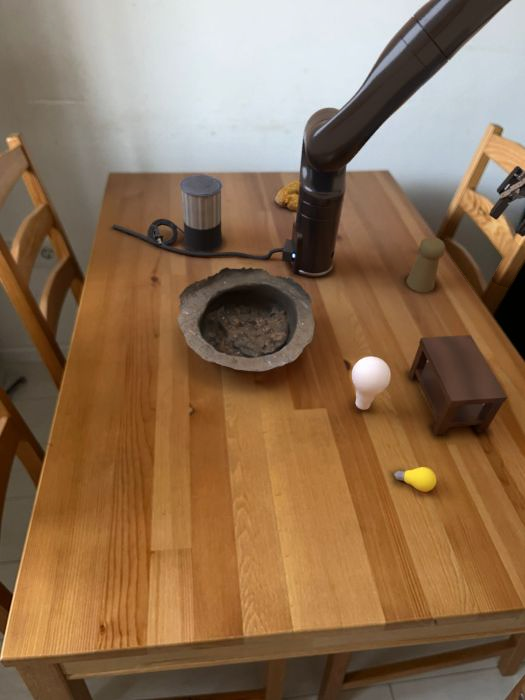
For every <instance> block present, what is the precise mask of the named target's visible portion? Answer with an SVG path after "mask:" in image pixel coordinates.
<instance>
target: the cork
mask: <svg viewBox="0 0 525 700" xmlns="http://www.w3.org/2000/svg"><path fill="white" fill-rule="evenodd" d="M445 251H446V245H445V242H444V241H443V240H441V239H440V238H438V237H434V236H427V237H425V238H423V239H422V240H421V241H420V243H419V247H418V252H419V254H418V256H417V258H416V260H415V262H414V264H413V266H412V268H411V270H410V272H409V274H408V277H407V278H406V285H407V286H408V288H410V289H411V290H414V291H416V292H420V293H429V292H431V291H433V290H434V289H435V285H436V277H437V273H438V268H439V262H440V259H441V258H442V257H443V256H444V254H445Z"/></svg>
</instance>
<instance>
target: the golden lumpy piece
mask: <svg viewBox="0 0 525 700" xmlns="http://www.w3.org/2000/svg"><path fill="white" fill-rule="evenodd" d="M298 196H299V180H295V181H292V182H290V183H288V184H287V185H286V186H285V187H283V188H281V189H280V190H279V191H278V192H277V194H276V196H275V197H274V201H275V203H276V204H277V205H278V206H280V207H283V208H287V209H289V210H290V211H296V212H297V205H298Z"/></svg>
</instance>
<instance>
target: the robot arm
mask: <svg viewBox="0 0 525 700" xmlns="http://www.w3.org/2000/svg"><path fill="white" fill-rule="evenodd" d="M512 1H513V0H428V1H427V2H425V3H424V4H423V5H422V6H421V7H420V8H418V9H417V11H415V13H413V14H412V16H411V17H410V18H409V19H408V20H407V21H406V22H405V23H404V24H403V25H402V27H400V28H399V30H397V32H396V33H395V34H394V35H393V36H392V38H391V39H390V40H389V41H388V43H387V44H386V45H385V47H384V49H383V50H382V51H381V53H380V54H379V55H378V58H377V59H376V61H375V63H374V64H373V66H372V68H371V69H370V71H369V73H368V75H367V76H366V78H365V79H364V81H363V82H362V84H361V86H359V88H358V89H357V91H356V92H355V93H354V94H353V96H352V97H350V99H349V100H348V101H347V102H346V103H345V104H344V105H343V106H342V107H341V108H336V107H331V106H330V107H323V108H320V109H318V110H317V111H315V112H314V113H312V115H310V117H309V118H308V120H307V121H306V123H305V126H304V129H303V134H302V143H301V154H300V155H301V156H300V165H299V180H298V181H299V196H298V205H297V211H296V215H295V221H294V222H292V232H291V239H290V238H286V239H285V242H284V246H283V247H277V248H273V249H271V250H269V251H268V253H267V254H265V255H252V254H249V253H245V252H240V251H239V252H238V251H220V252H209V253H201V252H193V251H191V250H186V249H182V248H177V247H174V246H171V245H169V246H167V245H164V244H161V245H159V246H158V247H159V248H161V249H164V250H167V251H170V252H173V253H177V254H180V255H181V254H182V255H185V256H192V257H193V256H194V257H202V258H203V257H204V258H214V257H215V258H216V257H240V258H245V259H250V260H260V261H264V260H269V259H271V257H272V256H273V255H274V254H276V253H282V254H281V255H282V256H281V261H282V262H289V263H290V267H291V269H292V273H293V274H294V275H301V276H303V277H307V278H322V277H324V276H327V275H329V274H330V273H331V272H332V270H333V266H334V258H335V254H336V249H337V247H336V245H337V240H338V236H339V235H338V234H339V229H340V223H341V219H342V218H341V217H342V213H343V206H344V199H345V193H346V186H347V185H346V184H347V179H346V178H347V166H348V164H350V162H351V161H353V159H354V158H355V157H356V156H357V155H358V154H359V152H360V151H361V150H362V149H363V147H364V146H365V145H366V144H367V143H368V141H370V139H371V138H372V137H373V136H374V135H375V133H376V132H377V131H378V130H379V129H380V128H381V127H382V126H383V125H384V124H385V122H387V120H389V119H390V118H391V117H392V116H393V115H394V114H395V113H396V112H397V111H398V110H400V108H401V107H403V105H405V104H406V103H407V102H408V101H409V100H410V99H411V98H412V97H413V96H414V95H416V93H417V92H418V91H419V90H420V89H421V88H422V87H424V86H425V85H426V84H427V83H428V82H429V81H430V80H431V79H433V77H434V76H435V75H437V73H438V72H440V71H441V70H442V69H443V67H445V66H446V65H447V64H448V63H449V61H451V60H452V59H453V58H454V57H455V56H456V55H457V54H458V53H459V51H461V50H462V49H463V48H464V47H465V46H466V45H467V44H468V43H469V42H470V41H471V40H472V39H473V38H474V37H475V36H476V35H477V34H478V33H479V32H480V31H481V30H482V29H484V28H485V27H486V26H487V25H488V23H490V22H491V20H493V19H494V17H496V16H497V15H498V14H499V13H500V12H501V10H503V9H504V8H505V7H506V6H507V5H508V4H510V3H511V2H512ZM496 193H498V195H499V199H498V200H497V201H496V203H495V204H494V205H493V206H492V208H491V209H490V211H489V215H488V216H489V217H491V218H492V219H494V220H498V219H499V218H500V217H501V216H502V215H503V213H504V212H505V211H506V209H507V208H508V207H509V205H510V203H513V202H514V201H516V200H522V199H525V170H524V168H522V167H520V165H516V166H515V167H514V168H513V169H512V170H511V171H510V173H509V174H508V175H507V176H506V178H505V179H504V180H503V181H502V182H501V184H500V185H499V186H498V187H497V188H496ZM112 229H114V230H117V231H120V232H124V233H127V234H128V235H131V236H134V237H136V238H139V239H141V240H144V241H146V242H147V243H150V244H152V243H151V242H150V241H149V240H148V237H147V235H144V234H142V233H139V232H136V231H135V230H134V231H133V230H131V229H128V228H126V227H123V226H120V225H117V224H112ZM514 232H515V233H516V234H517V235H519V236H521V237H522V238H523V237H525V218H524V219H523V220H522V222H520V224H519V225H518V226H517V228H516V229H515V231H514Z"/></svg>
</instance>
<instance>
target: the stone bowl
mask: <svg viewBox="0 0 525 700" xmlns="http://www.w3.org/2000/svg"><path fill="white" fill-rule="evenodd" d="M178 298H179V303H180V304H179V305H178V309H179V311H180V313H179V315H177V322H178V325H179V328H180V331H181V332H182V334H183V335H184V339H185V342H186V344H187V345H188V347H189V348H190V349H192V350H193V351H194V352H195V354H197V355H198V356H200V358H201V359H203V360H204V361H206V362H210V363H215V364H218V365H221V366H224V367H228V368H231V369H234V370H237V371H245V372H247V371H248V372H265V371H269V370H272V369H274V368H277V367H282V366H284V365H286V364H288V363H293V362H294V361H295V360H297V359H298V357H299V356H300V355H301V354H302V353H303V351H304V348H305V347H306V346H307V345H309V344H311V343H312V340H313V336H314V331H315V327H316V325H315V324H316V323H315V322H316V321H315V319H314V313H313V308H312V307H311V305H312V298H311V296H310V293H308V292H307V291H306V290H305V289H304V288H303V286H302V285H301V284H300V283H298V282H297V281H295V280H294V279H293V278H291V277H285V276H281V275H272V274H270V272H268V270H266V269H264V268H253V267H248V268H246V267H245V266H243V267H241V268H230V267H224V268H222V269H220V270H219V271H218V272H216V273H214V274H213V275H209V276H207V278H203V279H201V280H198V281H194V282H193V283H190V284H189V285H188V286H186V287H185V288H184V289H183V291H182V292H181V293H180V294H179V296H178Z"/></svg>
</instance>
